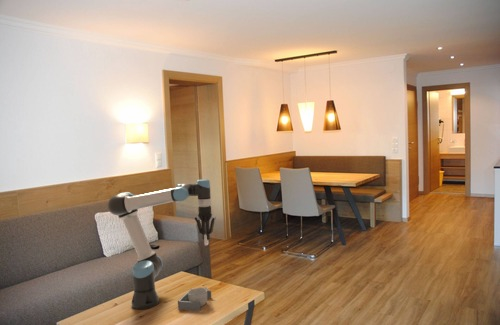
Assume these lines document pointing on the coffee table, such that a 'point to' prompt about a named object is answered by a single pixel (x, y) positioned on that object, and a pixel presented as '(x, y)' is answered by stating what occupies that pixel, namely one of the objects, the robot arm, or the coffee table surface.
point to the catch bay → (187, 305)
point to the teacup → (198, 295)
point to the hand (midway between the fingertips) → (206, 244)
